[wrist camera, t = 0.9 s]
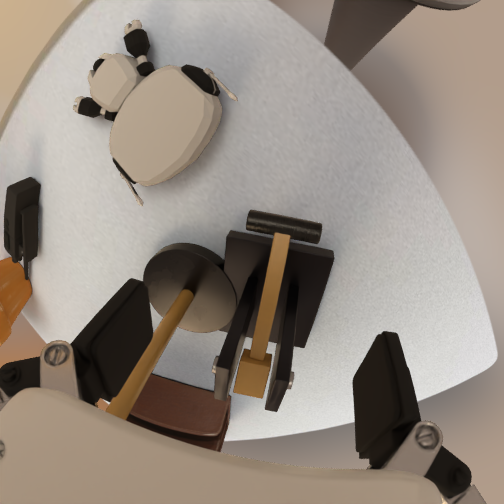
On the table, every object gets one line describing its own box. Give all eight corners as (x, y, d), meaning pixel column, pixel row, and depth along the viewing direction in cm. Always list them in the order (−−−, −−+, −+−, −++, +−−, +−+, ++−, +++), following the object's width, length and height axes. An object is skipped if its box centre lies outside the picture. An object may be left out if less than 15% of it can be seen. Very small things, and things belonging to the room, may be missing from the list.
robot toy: (87, 109, 24) (166, 200, 26) (57, 110, 20) (140, 214, 22) (152, 20, 19) (255, 108, 21) (126, 7, 15) (240, 102, 17)
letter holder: (229, 421, 44) (210, 486, 32) (133, 391, 47) (103, 446, 35) (231, 394, 40) (208, 472, 27) (121, 361, 42) (83, 422, 30)
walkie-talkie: (0, 195, 23) (7, 297, 32) (41, 199, 27) (37, 298, 36) (9, 171, 26) (9, 270, 36) (45, 175, 30) (37, 271, 40)
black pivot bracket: (230, 229, 27) (177, 315, 16) (333, 250, 26) (346, 350, 15) (222, 322, 33) (185, 411, 21) (304, 339, 32) (296, 435, 20)
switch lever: (252, 211, 20) (247, 207, 18) (319, 224, 20) (324, 222, 18) (221, 374, 21) (214, 388, 19) (281, 387, 21) (281, 402, 18)
